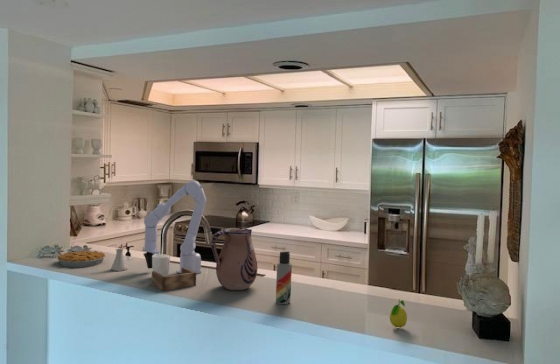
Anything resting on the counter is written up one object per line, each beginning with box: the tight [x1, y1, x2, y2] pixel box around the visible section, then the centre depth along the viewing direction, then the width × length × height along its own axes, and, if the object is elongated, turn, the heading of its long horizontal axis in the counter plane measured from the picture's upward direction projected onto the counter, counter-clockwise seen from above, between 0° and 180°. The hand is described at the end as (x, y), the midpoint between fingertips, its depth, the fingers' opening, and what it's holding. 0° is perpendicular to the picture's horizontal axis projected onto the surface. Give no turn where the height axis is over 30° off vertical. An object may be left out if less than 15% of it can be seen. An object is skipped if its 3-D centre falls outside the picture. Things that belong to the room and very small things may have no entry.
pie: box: [57, 250, 106, 268], centre depth 219 cm, size 22×22×5 cm
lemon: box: [389, 298, 408, 328], centre depth 143 cm, size 7×6×10 cm
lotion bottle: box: [275, 251, 293, 305], centre depth 166 cm, size 6×6×20 cm
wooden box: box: [151, 267, 197, 291], centre depth 185 cm, size 15×12×6 cm
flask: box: [110, 248, 128, 272], centre depth 208 cm, size 7×7×10 cm
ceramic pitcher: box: [210, 227, 258, 291], centre depth 183 cm, size 18×21×25 cm
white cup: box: [151, 253, 171, 276], centre depth 196 cm, size 8×8×10 cm
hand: (150, 268), depth 205 cm, fingers closed
